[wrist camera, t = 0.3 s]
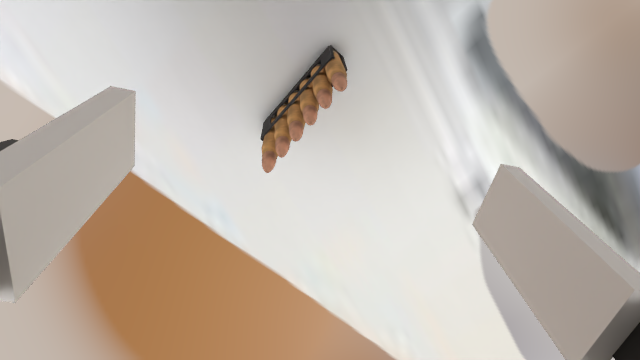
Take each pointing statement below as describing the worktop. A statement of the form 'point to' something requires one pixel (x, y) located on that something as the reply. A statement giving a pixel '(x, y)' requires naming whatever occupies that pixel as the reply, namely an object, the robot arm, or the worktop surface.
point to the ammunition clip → (302, 105)
